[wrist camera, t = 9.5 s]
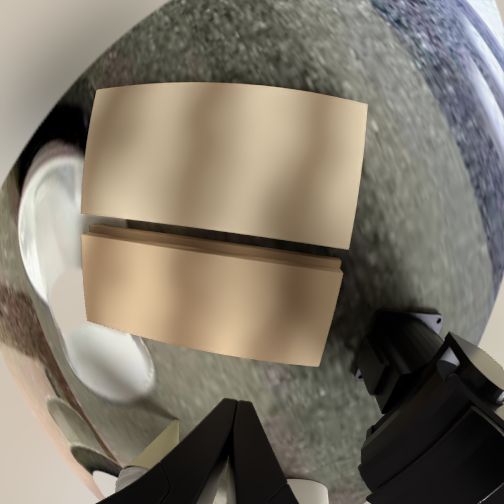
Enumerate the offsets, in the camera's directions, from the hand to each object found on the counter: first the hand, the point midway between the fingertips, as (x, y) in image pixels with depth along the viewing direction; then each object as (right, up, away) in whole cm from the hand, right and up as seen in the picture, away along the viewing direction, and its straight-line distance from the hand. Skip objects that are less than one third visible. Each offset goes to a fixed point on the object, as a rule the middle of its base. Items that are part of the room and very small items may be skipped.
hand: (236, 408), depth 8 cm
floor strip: (-3, +2, +12) cm, 13 cm away
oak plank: (-2, +11, +10) cm, 15 cm away
